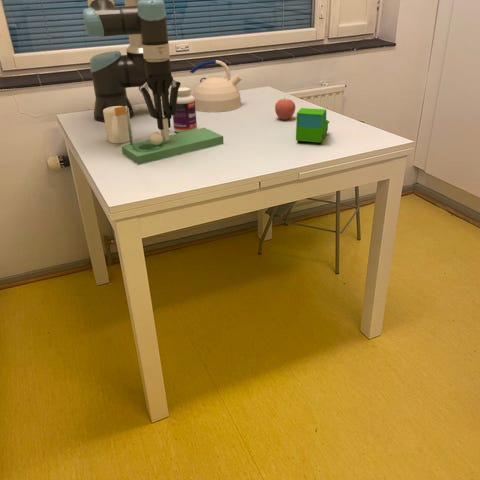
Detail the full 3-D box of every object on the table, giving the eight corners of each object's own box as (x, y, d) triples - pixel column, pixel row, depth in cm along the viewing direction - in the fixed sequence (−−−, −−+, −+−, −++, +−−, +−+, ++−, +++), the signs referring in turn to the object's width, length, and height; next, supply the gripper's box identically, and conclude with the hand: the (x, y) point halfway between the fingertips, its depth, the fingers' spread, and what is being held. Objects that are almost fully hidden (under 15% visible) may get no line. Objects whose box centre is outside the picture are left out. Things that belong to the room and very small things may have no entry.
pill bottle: (193, 134, 164) (190, 92, 157) (171, 134, 165) (166, 91, 158) (199, 127, 171) (196, 86, 163) (178, 127, 172) (174, 86, 165)
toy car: (331, 133, 161) (333, 104, 156) (324, 146, 151) (326, 114, 145) (301, 131, 164) (302, 102, 159) (292, 143, 154) (293, 112, 148)
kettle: (242, 112, 188) (240, 64, 179) (189, 113, 188) (185, 65, 179) (242, 99, 205) (241, 55, 196) (194, 100, 206) (191, 56, 197)
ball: (145, 136, 147) (154, 128, 147) (152, 146, 149) (161, 137, 150) (150, 139, 144) (160, 130, 144) (158, 149, 146) (167, 140, 147)
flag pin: (120, 146, 147) (114, 107, 141) (132, 144, 149) (126, 105, 143) (121, 147, 147) (115, 108, 141) (133, 144, 149) (127, 106, 143)
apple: (272, 121, 176) (272, 99, 172) (278, 115, 181) (278, 94, 177) (291, 122, 173) (292, 100, 169) (297, 117, 179) (297, 95, 175)
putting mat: (122, 153, 149) (121, 145, 148) (204, 134, 164) (204, 127, 162) (138, 164, 141) (137, 156, 139) (223, 143, 155) (223, 136, 154)
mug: (129, 105, 160) (126, 114, 150) (133, 135, 165) (130, 146, 155) (104, 106, 159) (99, 116, 149) (109, 136, 165) (104, 147, 154)
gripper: (141, 64, 131) (151, 146, 143) (183, 58, 138) (189, 137, 150) (130, 60, 137) (141, 140, 149) (171, 55, 143) (178, 131, 155)
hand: (165, 138), depth 149 cm, fingers closed
